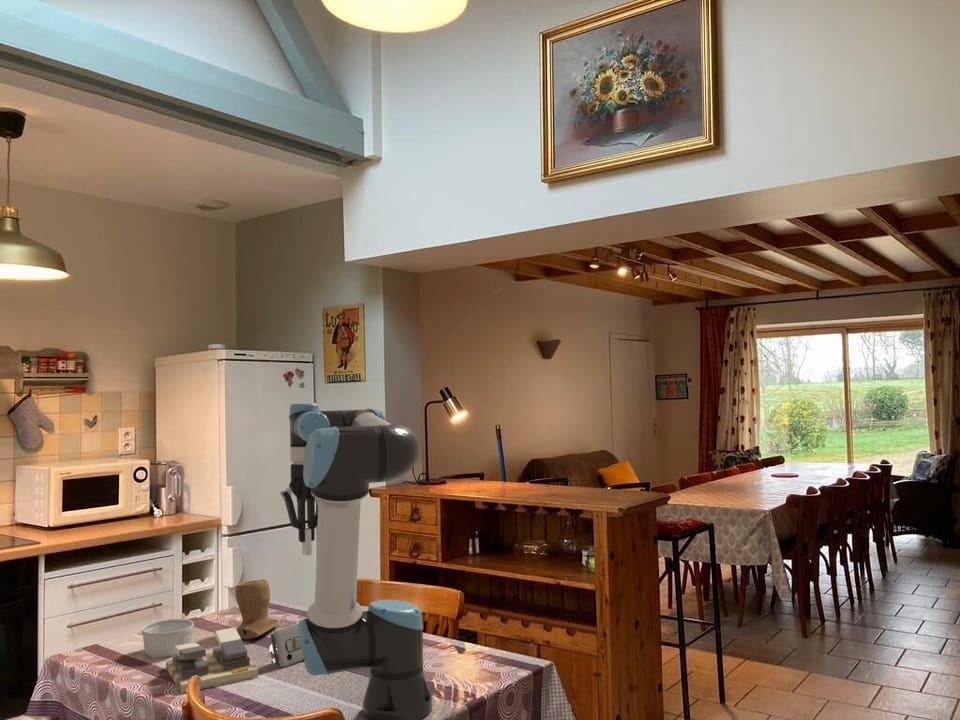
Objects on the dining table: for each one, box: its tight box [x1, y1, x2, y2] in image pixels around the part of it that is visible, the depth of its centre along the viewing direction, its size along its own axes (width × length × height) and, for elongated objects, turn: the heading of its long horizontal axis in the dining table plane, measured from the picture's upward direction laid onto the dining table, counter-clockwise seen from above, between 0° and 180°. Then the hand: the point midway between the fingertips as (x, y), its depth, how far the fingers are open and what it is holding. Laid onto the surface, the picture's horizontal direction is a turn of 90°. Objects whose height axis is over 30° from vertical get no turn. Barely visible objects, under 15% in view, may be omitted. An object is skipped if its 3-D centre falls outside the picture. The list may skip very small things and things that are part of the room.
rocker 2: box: [215, 627, 248, 661], centre depth 200 cm, size 12×5×2 cm, turn 32°
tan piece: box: [234, 579, 281, 640], centre depth 229 cm, size 15×12×15 cm
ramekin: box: [141, 618, 195, 658], centre depth 214 cm, size 13×13×7 cm
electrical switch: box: [270, 622, 304, 668], centre depth 204 cm, size 9×5×9 cm, turn 141°
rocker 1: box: [175, 642, 207, 660], centre depth 194 cm, size 12×5×2 cm, turn 32°
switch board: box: [165, 646, 259, 694], centre depth 197 cm, size 20×18×4 cm
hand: (306, 554), depth 202 cm, fingers closed
